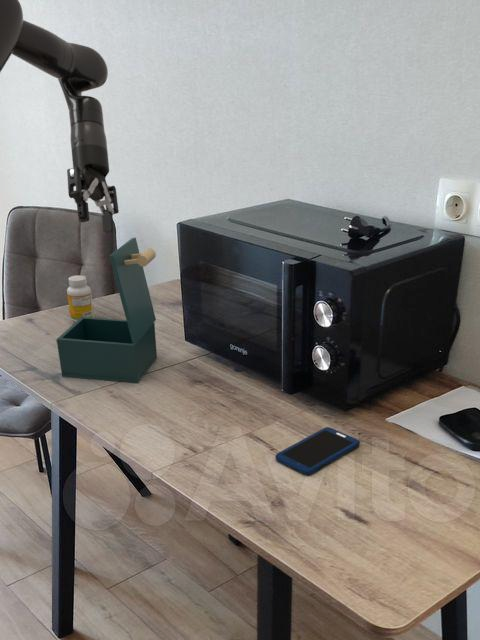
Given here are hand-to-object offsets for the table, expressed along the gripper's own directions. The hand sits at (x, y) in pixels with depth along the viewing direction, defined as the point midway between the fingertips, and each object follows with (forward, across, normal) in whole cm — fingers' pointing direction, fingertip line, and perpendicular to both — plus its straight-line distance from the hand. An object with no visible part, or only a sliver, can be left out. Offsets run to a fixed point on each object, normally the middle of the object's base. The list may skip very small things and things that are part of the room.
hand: (96, 226), depth 151 cm
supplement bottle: (+17, +9, +13) cm, 23 cm away
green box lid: (+19, -14, -16) cm, 28 cm away
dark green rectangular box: (+32, -8, -6) cm, 33 cm away
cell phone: (+52, -19, -52) cm, 76 cm away
